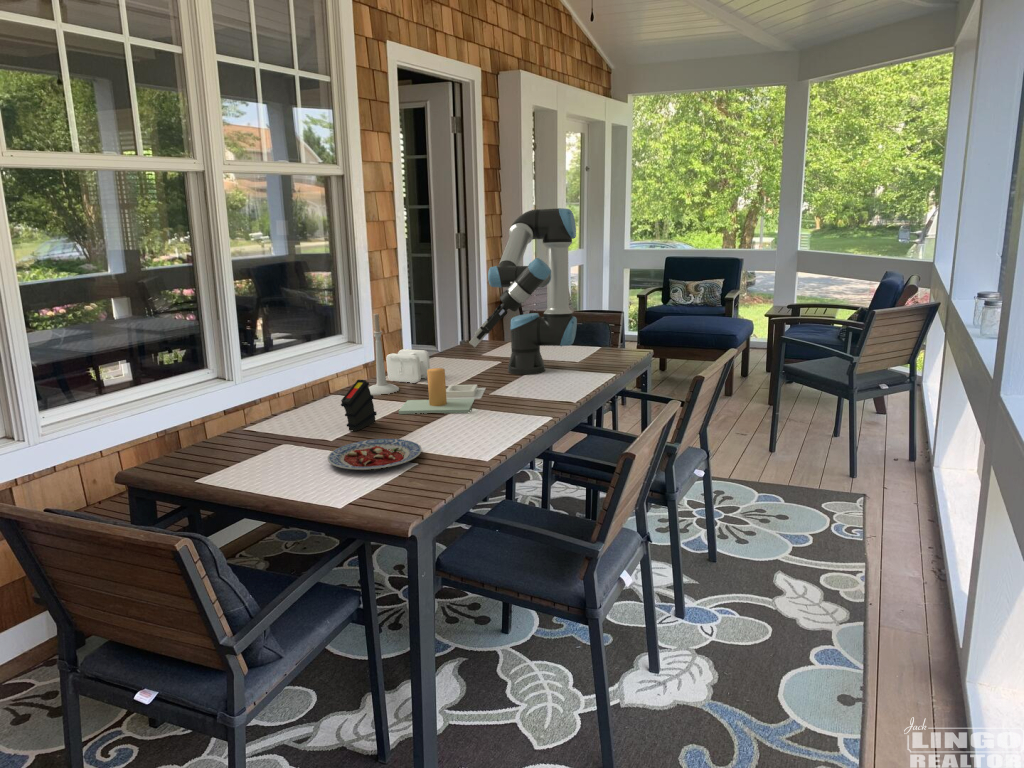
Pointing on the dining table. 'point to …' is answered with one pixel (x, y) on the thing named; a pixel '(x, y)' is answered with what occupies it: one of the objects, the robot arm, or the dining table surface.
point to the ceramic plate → (374, 454)
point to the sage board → (425, 408)
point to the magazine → (359, 406)
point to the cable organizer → (408, 365)
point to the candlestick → (380, 365)
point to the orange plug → (437, 387)
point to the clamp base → (464, 392)
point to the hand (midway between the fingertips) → (474, 340)
